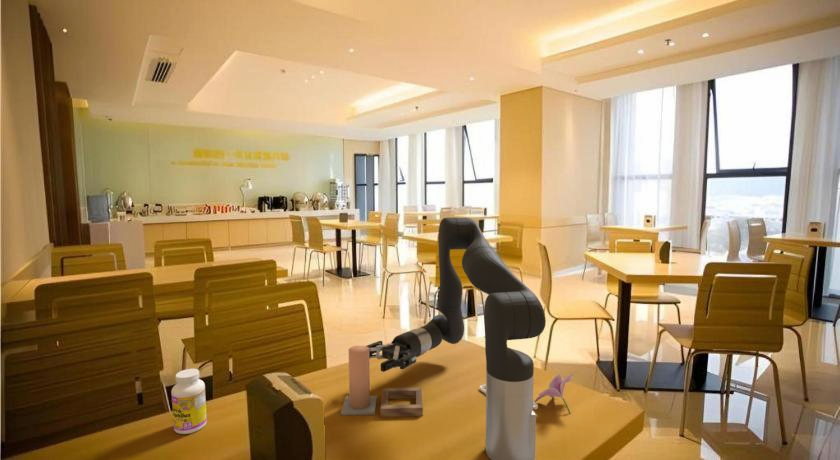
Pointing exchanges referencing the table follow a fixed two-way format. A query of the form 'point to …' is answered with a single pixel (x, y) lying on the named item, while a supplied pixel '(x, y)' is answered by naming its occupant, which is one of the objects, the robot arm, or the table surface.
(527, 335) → the robot arm
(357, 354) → the post
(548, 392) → the lily
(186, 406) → the supplement bottle
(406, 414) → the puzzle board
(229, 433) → the table surface
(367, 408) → the mat
